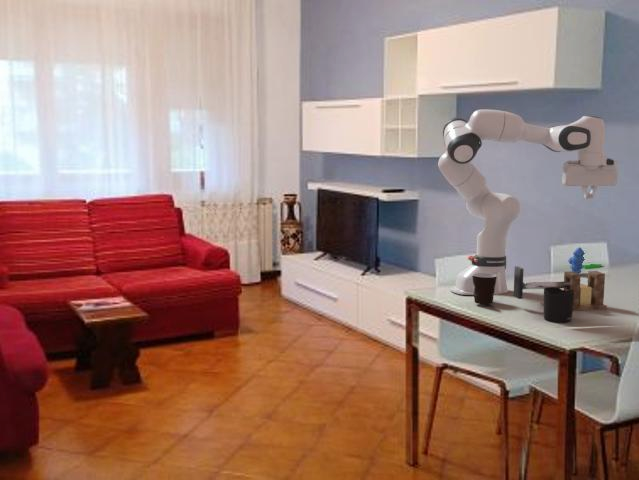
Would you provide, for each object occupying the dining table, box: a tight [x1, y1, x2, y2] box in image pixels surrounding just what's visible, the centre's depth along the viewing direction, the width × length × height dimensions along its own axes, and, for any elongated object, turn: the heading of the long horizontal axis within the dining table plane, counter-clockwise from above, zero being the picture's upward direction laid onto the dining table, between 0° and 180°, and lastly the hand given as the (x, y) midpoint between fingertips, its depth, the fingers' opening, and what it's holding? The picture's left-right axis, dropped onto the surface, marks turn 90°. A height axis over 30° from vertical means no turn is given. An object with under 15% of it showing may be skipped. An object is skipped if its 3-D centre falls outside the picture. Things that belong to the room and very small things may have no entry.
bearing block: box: [540, 270, 608, 311], centre depth 253 cm, size 20×9×12 cm, turn 97°
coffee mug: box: [472, 273, 497, 305], centre depth 261 cm, size 12×9×10 cm
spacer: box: [579, 283, 592, 306], centre depth 253 cm, size 4×6×6 cm, turn 7°
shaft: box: [513, 266, 570, 300], centre depth 251 cm, size 20×5×10 cm, turn 97°
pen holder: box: [543, 287, 574, 324], centre depth 234 cm, size 9×9×10 cm
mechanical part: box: [582, 263, 602, 270], centre depth 333 cm, size 12×6×8 cm, turn 115°
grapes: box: [567, 247, 585, 274], centre depth 316 cm, size 12×7×12 cm, turn 142°
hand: (588, 198), depth 266 cm, fingers closed
